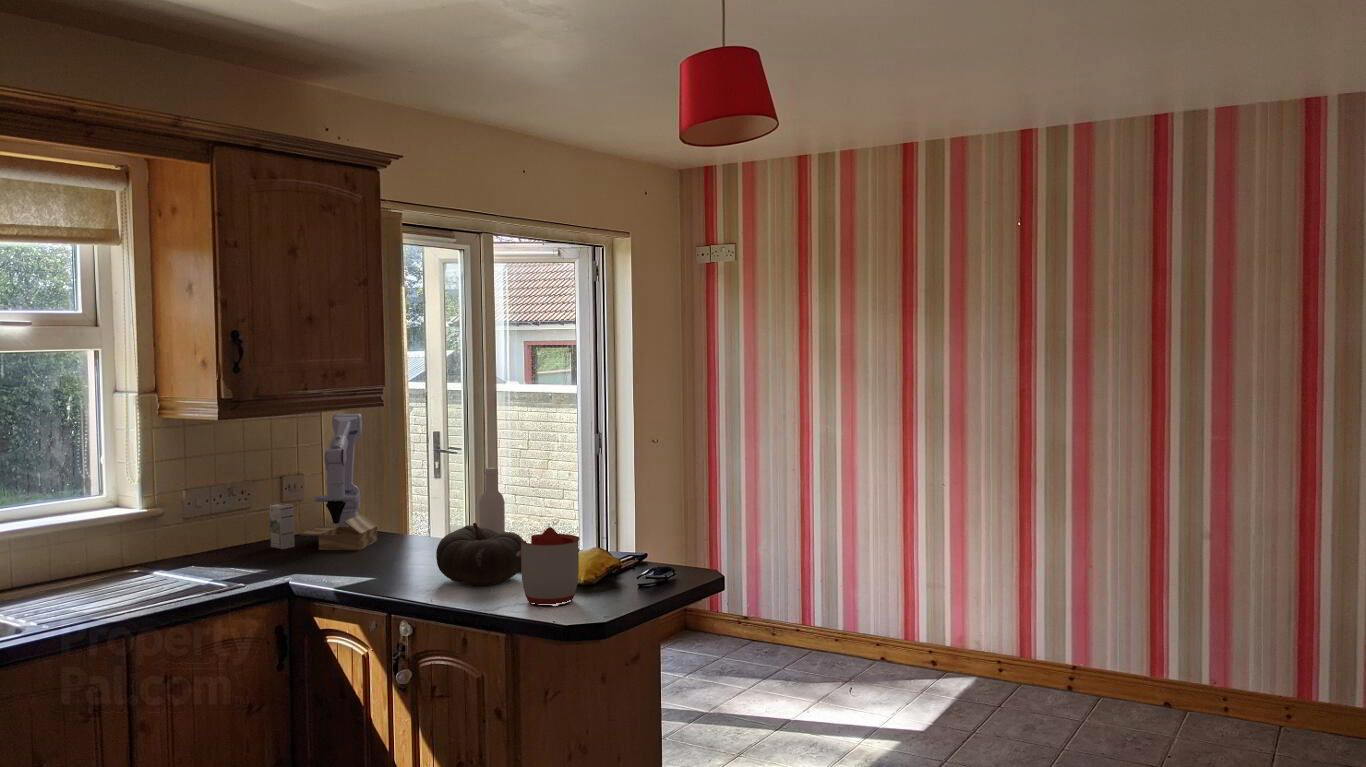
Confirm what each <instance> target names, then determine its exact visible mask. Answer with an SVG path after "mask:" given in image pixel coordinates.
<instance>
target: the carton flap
mask: <svg viewBox="0 0 1366 767" xmlns="http://www.w3.org/2000/svg"><path fill="white" fill-rule="evenodd" d="M344 523H345V524H346V525H348V526H349V527H350V528H352V529H353V530H355V531H356V532H357V533H359V534H360V535H361V534H363V533H365V532H367V531H369V530H372V529H374V528H376V527H377V528H378V525H376V524H375V523H373V522H372V521H371V520H369V518H367V517H366V516H364V515H363V514H359V515H358V516H356V517H354V518H351V519H349V520H346V521H344Z"/></svg>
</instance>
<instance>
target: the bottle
mask: <svg viewBox="0 0 1366 767" xmlns="http://www.w3.org/2000/svg"><path fill="white" fill-rule="evenodd" d="M498 470H499V469H498V468H497V467H487V468H485V472H484V474H485V491H484V492H483V493H482V494H481V496H480V499H479V502H478V511H479V512H478V517H479V519H478V520H479V521H478V523H479V524H478V527H480V528H482V529H483V528H487V529H489V530H492V531H494V532H497V533H502V532H506V521H505V519H506V518H505V516H506V515H505V514H506V512H505V511H506V510H505V509H506V508H505V507H506V506H505V504H506V503H505V498H504V495H503V494H502V493H501V492H500V491H499V490H498V488H499V486H498V480H499V479H498V474H499V471H498Z"/></svg>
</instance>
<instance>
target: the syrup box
mask: <svg viewBox="0 0 1366 767" xmlns="http://www.w3.org/2000/svg"><path fill="white" fill-rule="evenodd" d="M294 507H295V506H294V504H288V503H276V504H275V503H274V504H272V505H271V504H270V505H269V533H270V534H269V536H270V537H269V538H270V539H269V540H270V548H272V549H279V550H286V549H290V548H295V514H294V513H295V511H294V510H295V509H294Z"/></svg>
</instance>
